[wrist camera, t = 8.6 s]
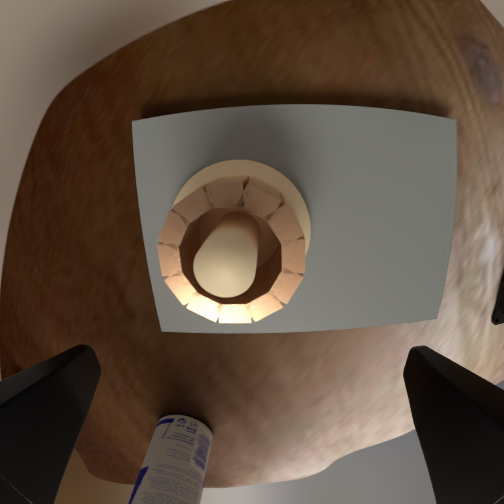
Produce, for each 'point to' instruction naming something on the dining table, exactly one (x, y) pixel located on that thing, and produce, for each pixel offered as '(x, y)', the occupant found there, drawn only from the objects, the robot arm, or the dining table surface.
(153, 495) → the beverage can
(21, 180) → the dining table surface
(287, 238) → the wooden slatted ring
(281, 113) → the bobbin board
